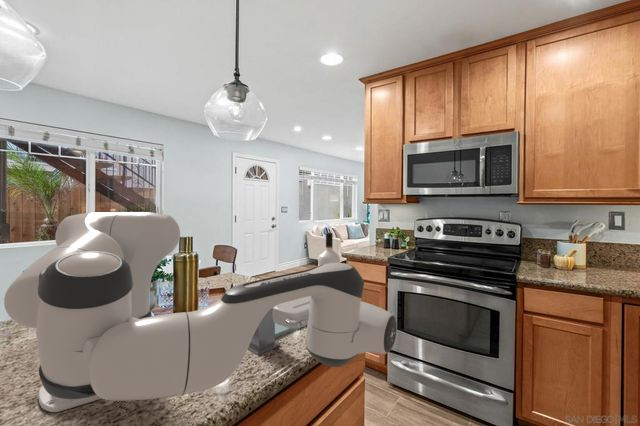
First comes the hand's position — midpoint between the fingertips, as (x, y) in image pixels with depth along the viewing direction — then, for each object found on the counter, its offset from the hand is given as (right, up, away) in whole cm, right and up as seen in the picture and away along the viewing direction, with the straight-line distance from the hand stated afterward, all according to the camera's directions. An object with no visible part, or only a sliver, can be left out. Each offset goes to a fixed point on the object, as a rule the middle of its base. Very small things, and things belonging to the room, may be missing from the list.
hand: (290, 298), depth 79 cm
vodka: (+11, -15, +36) cm, 41 cm away
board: (-6, -16, +24) cm, 29 cm away
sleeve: (-9, -16, +9) cm, 21 cm away
